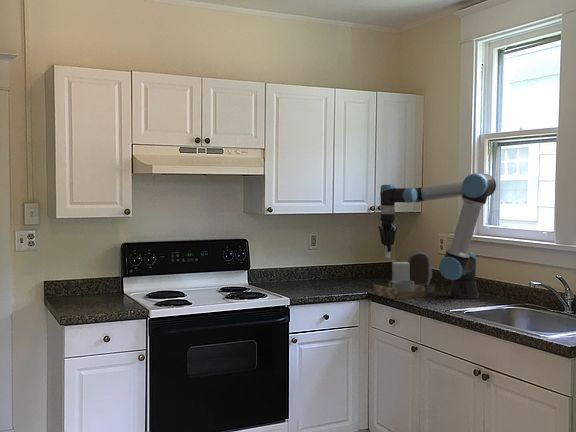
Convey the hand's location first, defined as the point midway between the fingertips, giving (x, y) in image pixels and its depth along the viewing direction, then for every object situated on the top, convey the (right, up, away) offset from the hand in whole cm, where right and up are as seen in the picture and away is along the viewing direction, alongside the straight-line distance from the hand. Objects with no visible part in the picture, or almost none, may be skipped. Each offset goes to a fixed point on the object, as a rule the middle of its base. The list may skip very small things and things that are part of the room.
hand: (387, 257), depth 334 cm
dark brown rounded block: (+22, -18, +27) cm, 40 cm away
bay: (+9, -19, -7) cm, 22 cm away
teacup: (+5, -20, -10) cm, 23 cm away
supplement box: (+9, -19, +12) cm, 24 cm away
